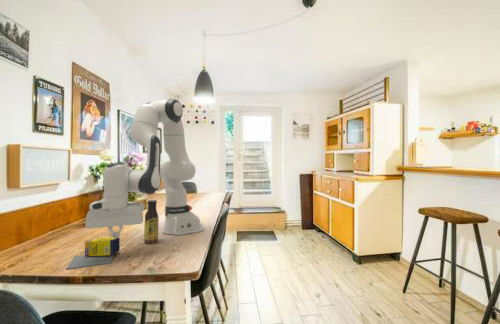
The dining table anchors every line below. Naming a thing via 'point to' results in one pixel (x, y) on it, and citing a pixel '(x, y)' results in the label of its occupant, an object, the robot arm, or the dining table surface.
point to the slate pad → (89, 261)
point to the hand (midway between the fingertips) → (115, 236)
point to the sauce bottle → (151, 223)
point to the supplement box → (102, 246)
